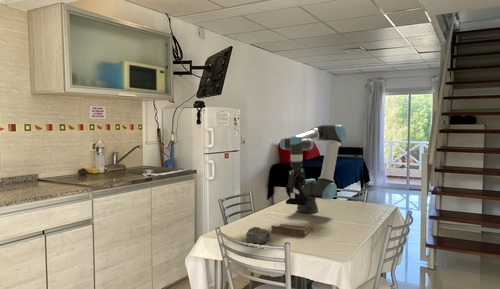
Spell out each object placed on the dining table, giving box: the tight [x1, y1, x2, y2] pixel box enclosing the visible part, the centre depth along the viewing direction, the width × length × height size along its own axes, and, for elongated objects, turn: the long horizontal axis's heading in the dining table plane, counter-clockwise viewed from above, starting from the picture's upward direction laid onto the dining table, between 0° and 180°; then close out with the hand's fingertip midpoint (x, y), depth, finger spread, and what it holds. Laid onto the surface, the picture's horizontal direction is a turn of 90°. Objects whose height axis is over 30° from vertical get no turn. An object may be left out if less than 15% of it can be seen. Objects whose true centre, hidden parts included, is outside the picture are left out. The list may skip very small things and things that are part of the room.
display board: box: [270, 223, 313, 238], centre depth 216 cm, size 15×20×4 cm
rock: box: [245, 226, 271, 245], centre depth 201 cm, size 13×6×15 cm
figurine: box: [285, 175, 308, 206], centre depth 231 cm, size 14×9×20 cm, turn 61°
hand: (297, 196), depth 231 cm, fingers closed on figurine, 9 cm apart
